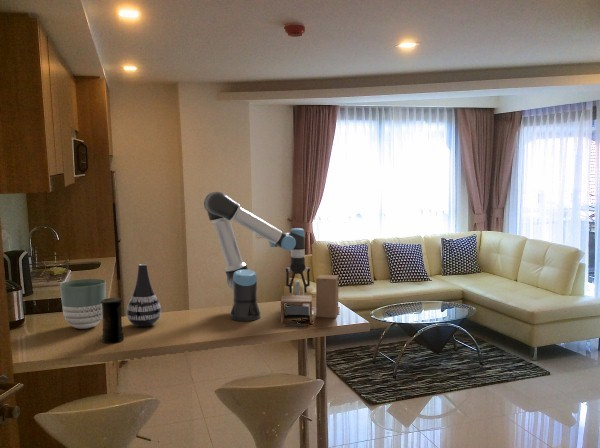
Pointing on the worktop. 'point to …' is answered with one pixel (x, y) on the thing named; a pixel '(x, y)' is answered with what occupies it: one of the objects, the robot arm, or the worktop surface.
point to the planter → (83, 302)
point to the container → (112, 320)
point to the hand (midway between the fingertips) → (298, 298)
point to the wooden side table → (296, 302)
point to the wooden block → (327, 296)
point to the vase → (143, 301)
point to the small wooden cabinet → (297, 309)
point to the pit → (296, 325)
